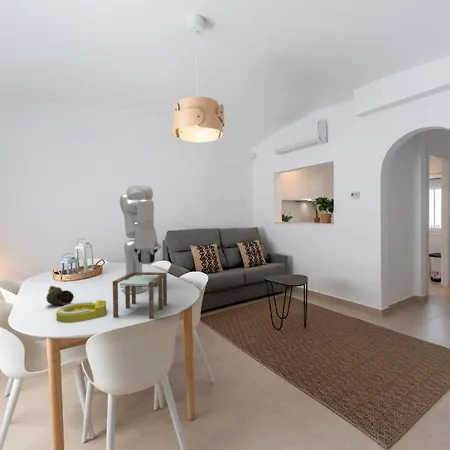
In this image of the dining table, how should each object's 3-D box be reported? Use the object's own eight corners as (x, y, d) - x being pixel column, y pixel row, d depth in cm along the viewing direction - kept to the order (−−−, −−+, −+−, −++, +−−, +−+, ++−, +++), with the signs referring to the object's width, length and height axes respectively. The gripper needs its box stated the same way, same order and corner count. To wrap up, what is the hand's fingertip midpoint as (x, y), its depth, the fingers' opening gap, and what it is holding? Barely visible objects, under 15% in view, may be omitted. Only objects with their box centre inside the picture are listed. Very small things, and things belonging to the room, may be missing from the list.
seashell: (54, 310, 140) (54, 290, 140) (43, 306, 146) (42, 287, 146) (75, 304, 149) (75, 285, 149) (63, 301, 155) (63, 282, 155)
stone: (139, 263, 136) (139, 253, 136) (143, 261, 141) (143, 251, 141) (149, 263, 136) (149, 253, 135) (153, 261, 141) (153, 252, 140)
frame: (113, 317, 131) (112, 281, 130) (133, 302, 151) (132, 271, 151) (152, 319, 129) (152, 282, 128) (167, 304, 149) (166, 272, 149)
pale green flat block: (119, 293, 132) (119, 283, 132) (134, 285, 148) (133, 275, 148) (149, 294, 131) (149, 284, 130) (161, 285, 146) (161, 276, 146)
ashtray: (105, 319, 130) (104, 308, 129) (53, 325, 122) (52, 314, 122) (106, 307, 145) (106, 298, 145) (60, 312, 138) (60, 302, 138)
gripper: (125, 225, 134) (126, 263, 135) (160, 225, 133) (161, 263, 134) (132, 224, 142) (132, 260, 143) (165, 224, 141) (165, 261, 141)
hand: (146, 261), depth 138 cm, fingers closed on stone, 5 cm apart
